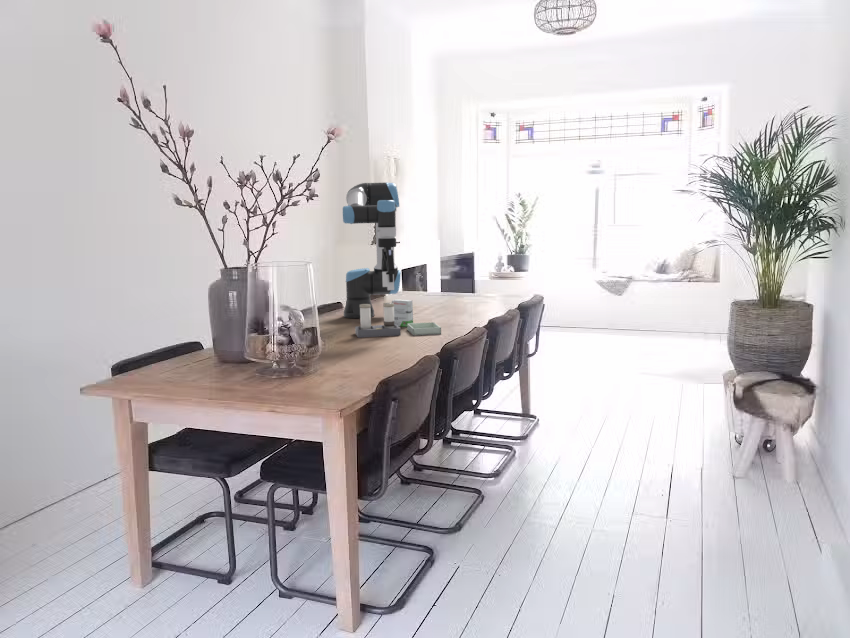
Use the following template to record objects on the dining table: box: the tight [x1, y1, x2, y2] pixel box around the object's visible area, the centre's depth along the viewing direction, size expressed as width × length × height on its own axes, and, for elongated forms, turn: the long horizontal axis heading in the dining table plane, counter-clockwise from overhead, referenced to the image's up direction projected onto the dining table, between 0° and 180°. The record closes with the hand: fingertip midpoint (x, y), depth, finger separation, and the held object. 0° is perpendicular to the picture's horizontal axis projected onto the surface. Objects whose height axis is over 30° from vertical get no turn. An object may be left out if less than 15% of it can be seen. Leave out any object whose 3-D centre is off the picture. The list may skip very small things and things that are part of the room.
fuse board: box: [354, 324, 402, 338], centre depth 299 cm, size 10×18×3 cm, turn 102°
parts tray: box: [406, 321, 442, 336], centre depth 303 cm, size 14×12×3 cm
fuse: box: [359, 303, 372, 329], centre depth 297 cm, size 5×5×13 cm
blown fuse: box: [382, 302, 395, 328], centre depth 299 cm, size 5×5×13 cm
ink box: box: [391, 298, 414, 328], centre depth 318 cm, size 9×5×12 cm, turn 60°
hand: (388, 288), depth 297 cm, fingers open, 13 cm apart
